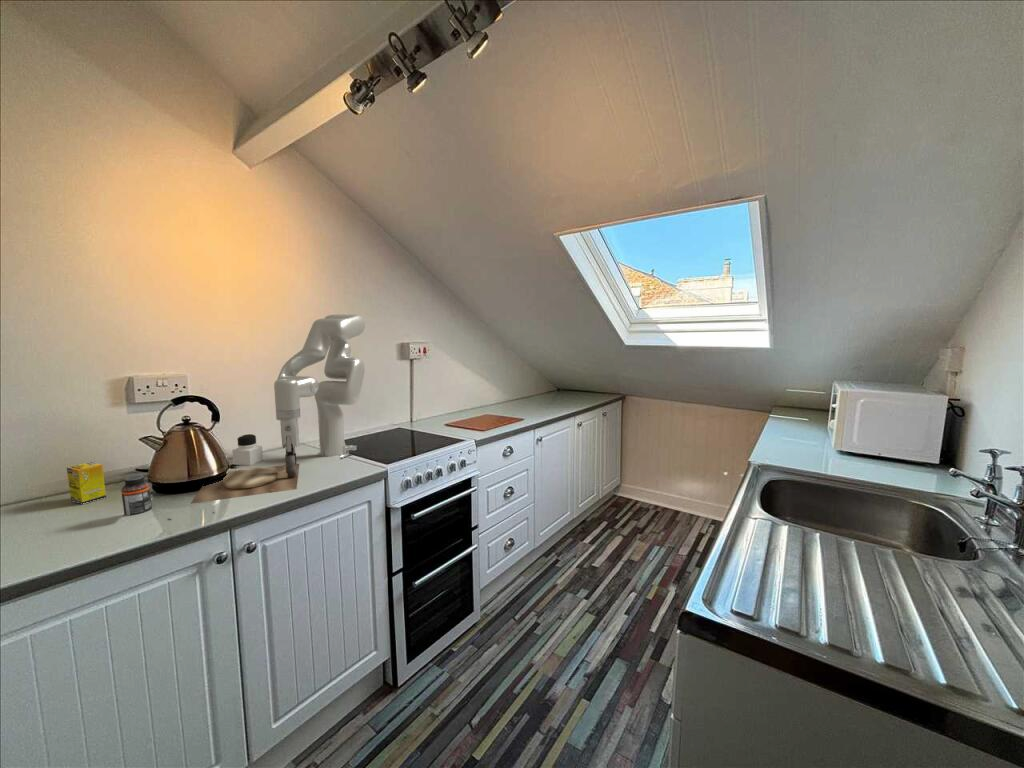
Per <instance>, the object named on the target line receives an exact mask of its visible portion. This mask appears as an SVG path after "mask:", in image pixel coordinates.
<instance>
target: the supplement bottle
mask: <svg viewBox="0 0 1024 768" xmlns="http://www.w3.org/2000/svg"><path fill="white" fill-rule="evenodd" d="M120 492H121V498H122V506H123V507H122V508H123V515H125V516H136V515H140V514H144V513H147V512H149V511H151V510H152V509H153V506H152V503H153V502H152V497H151V488H150V484H149V482H147V481H145V477H144V475H141V474H140V475H132V476H128V477H126V478H124V485H123V486H122V488H121V491H120Z"/></svg>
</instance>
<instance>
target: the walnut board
mask: <svg viewBox="0 0 1024 768" xmlns="http://www.w3.org/2000/svg"><path fill="white" fill-rule="evenodd" d="M295 466H296V476H295V477H289V478H278V479H276V480H275V481H273V482H270V483H268V484H265V485H261V486H257V487H251V488H243V489H232V488H227V487H225V486H224V485H223V480H221V481H219V482H216V483H213V484H209V485H206V486H203V485H202V487H201V488H200V489H199V491H197V493H196V494H195V496H194V497H193V499H192V501H191V502H190V504H196V503H197V504H198V503H205V502H211V501H219V500H227V499H233V498H241V497H242V498H243V497H248V496H256V495H265V494H270V493H271V494H272V493H278V492H286V491H293V490H297V489H298V488H297V487H298V481H299V479H298V478H299V473H300V463H296V465H295ZM267 467H268V468H275V469H277V470H278V471H279V472H282V471H286V464H284V465H274V466H267ZM241 470H242V469H240V470H230V471H227V472H228V473H227V475H229V474H231V473H234V472H237V471H241ZM227 475H226V476H227Z"/></svg>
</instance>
